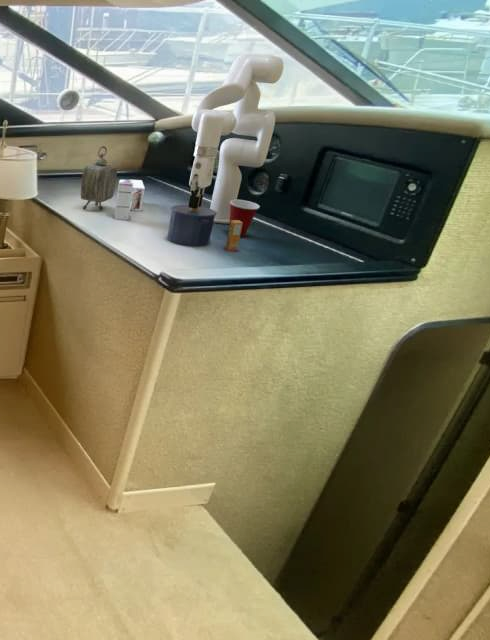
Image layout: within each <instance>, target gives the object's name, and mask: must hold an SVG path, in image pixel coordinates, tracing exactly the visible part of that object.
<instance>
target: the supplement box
mask: <svg viewBox="0 0 490 640" xmlns="http://www.w3.org/2000/svg"><path fill="white" fill-rule="evenodd" d="M242 224H243V222H241V221H239V220H231V223H230V225H229V226H230V228H228V233H227V238H226V243H225V247H224V249H225V250H227V251H228V252H237V251H238V249H239V243H240V238H241V237H240V234H241V229H242Z"/></svg>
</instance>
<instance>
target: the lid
mask: <svg viewBox="0 0 490 640" xmlns="http://www.w3.org/2000/svg"><path fill="white" fill-rule="evenodd" d="M199 197H201V194H199ZM199 201H200V198H199ZM188 205H189V204H176V205H173V206H171V207H170V210H171V212H172V211H174V212H176V213H179V214H183V215H188V216H195V217H211V216H215V215H216V214H217V212H216V211H214V210H212V209H210V207H206V206H201V207H198V208H197V209H195V208H189V207H188ZM198 206H199V203H198Z"/></svg>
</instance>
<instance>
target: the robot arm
mask: <svg viewBox="0 0 490 640" xmlns="http://www.w3.org/2000/svg"><path fill="white" fill-rule="evenodd" d="M284 67H285V66H284V60H283V59H282V58H281V57H280V56H276V55H272V54H260V53H243V54H240V55H238V56H237V57H236V58H235V59H234V61H232V64H231V66H230V68H229V70H228V71H227V74H226V76H225V78H224V79H223V82H222V84H221V85H219V86H218V87H216V88H214V89H213V90H211V91H210V92H208V93H207V94H205V95H204V96H203V97H202V98H201V100H200V101H199V103H198V105H197V106H196V109H195V111H194V113H193V116H192V119H191V128H192V130H193V131H194V132H196V133H197V134H196V139H195V145H194V150H193V157H194V160H193V163H192V164H193V165H192V168H191V172H190V178H189V181H188V182H189V183H188V185H189V187H190V190H189V191H190V195H189V201H188V204H187V205H188V207H189V208H195V209H197V208H198V207H202V202H203V198H204V194H205V190H206V189H205V188H207V187H210V186H211V185H212V181H213V174H214V168H215V161H216V160H215V159H217V155H218V151H219V158H218V169H217V174H216V178H215V182H214V186H213V193H212V196H211V201H210V207H209V209H212V210H214V211H216V212H217V214H216V215H215V218H214V222H213V223H217V224H229V223H230V201H231V200H238V195H239V191H240V187H241V184H242V180H243V179H242V171H241V170H240V168H239V166H240V167H241V166H242V167H249V168H260V167H262V166H264V164H265V162H266V159H267V156H268V153H269V149H270V146H271V141H272V138H273V133H274V129H275V124H276V115H275V113H274V111H272V110H269V109H260V108H259V104H260V100H261V94H262V93H261V91H260V88H259V85H258V84H276V83H277V82H278V81H279V80H280V79H281V77H282V75H283V72H284ZM231 104H234V107H233V110H232V112H231V111H228V110H227V111H226V110H218V109H217V108H220V107H224V106H228V105H231ZM231 133H232V134H234V135H240V136H246V137H247V136H248V137H256V139H257V140H253V139H247V138H239V137H238V138H237V137H232V138H227V139H225V140H223V141H222V143H221V144H220V141H221V136H228V135H230V134H231ZM219 145H220V147H219ZM199 194H201V197H199ZM199 198H200V201H199ZM198 203H199V206H198Z"/></svg>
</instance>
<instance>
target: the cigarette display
mask: <svg viewBox="0 0 490 640" xmlns="http://www.w3.org/2000/svg"><path fill="white" fill-rule="evenodd" d="M128 180H132V181H134V182H133V191H132V200H131V207H130V211H134V212H135V211H136V212H141V211H142V209H143V203H144V198H145V197H144V196H145V189H146V188H145V185H144V182H143V180H142V179H128Z"/></svg>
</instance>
